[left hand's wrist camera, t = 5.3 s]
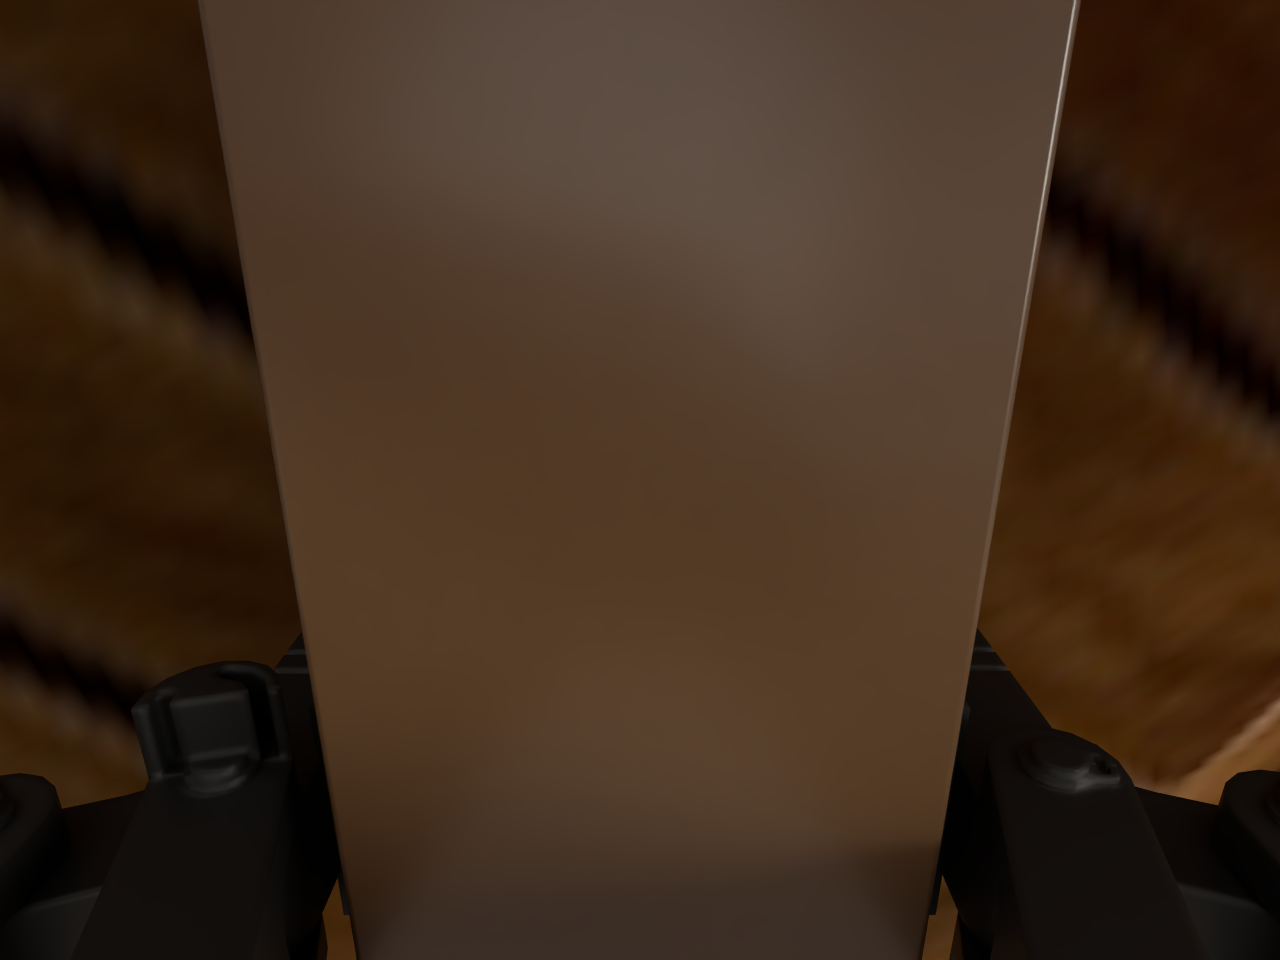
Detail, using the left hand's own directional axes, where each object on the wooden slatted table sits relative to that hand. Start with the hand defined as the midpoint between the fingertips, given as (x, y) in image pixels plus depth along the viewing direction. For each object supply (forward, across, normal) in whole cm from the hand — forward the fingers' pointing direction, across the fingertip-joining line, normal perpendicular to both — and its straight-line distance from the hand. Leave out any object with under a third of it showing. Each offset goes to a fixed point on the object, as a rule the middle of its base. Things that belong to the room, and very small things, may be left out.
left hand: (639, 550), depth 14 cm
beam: (+1, 0, -20) cm, 20 cm away
